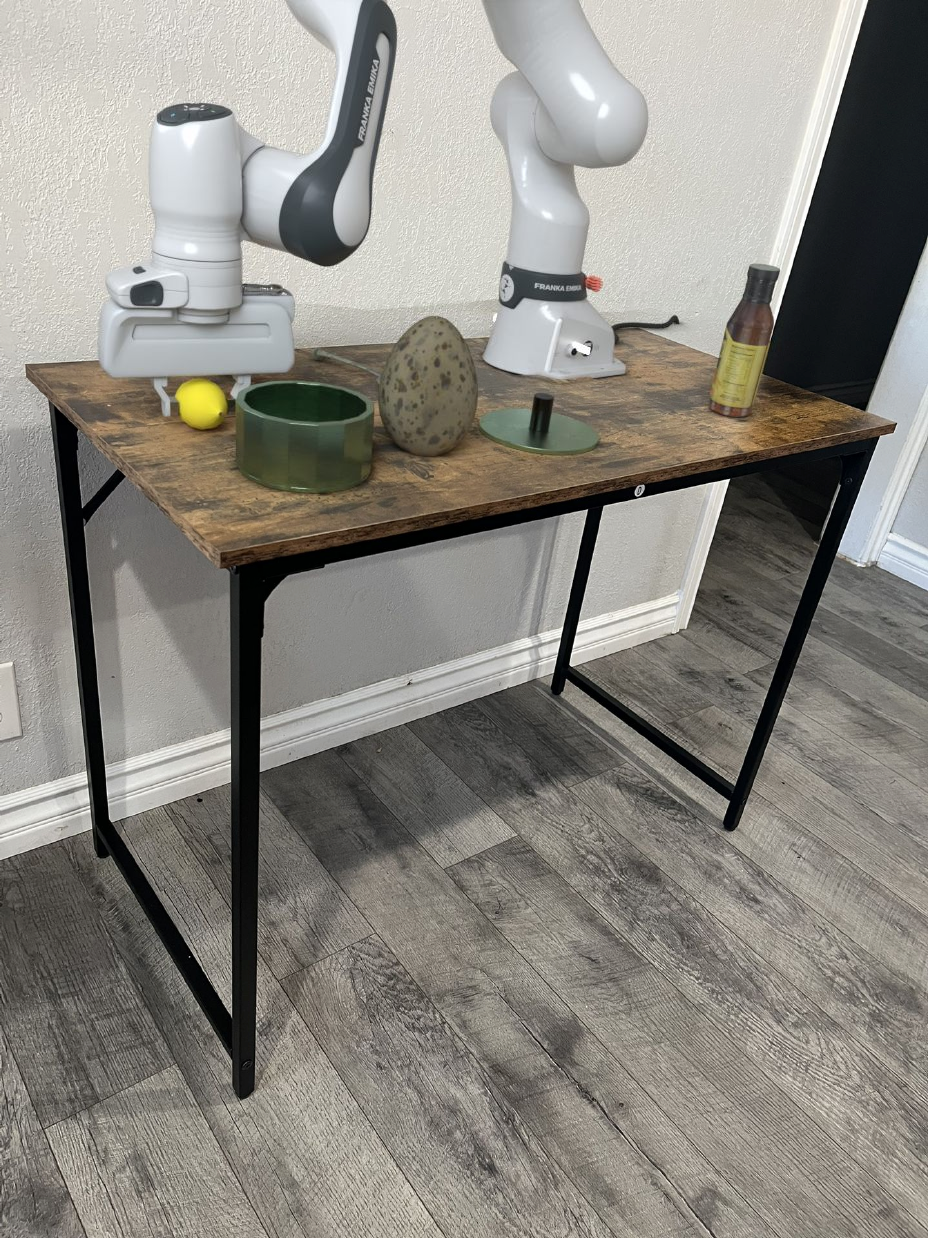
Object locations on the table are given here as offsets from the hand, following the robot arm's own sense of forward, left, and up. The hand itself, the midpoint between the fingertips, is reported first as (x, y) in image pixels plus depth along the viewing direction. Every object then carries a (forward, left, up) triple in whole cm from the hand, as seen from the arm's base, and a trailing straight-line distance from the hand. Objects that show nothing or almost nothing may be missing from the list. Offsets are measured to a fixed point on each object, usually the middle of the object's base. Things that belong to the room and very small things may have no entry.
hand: (201, 413), depth 103 cm
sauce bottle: (-73, +6, -2) cm, 73 cm away
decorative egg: (-21, +12, -2) cm, 25 cm away
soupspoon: (-26, -14, -2) cm, 30 cm away
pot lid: (-38, +10, -1) cm, 39 cm away
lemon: (0, 0, -2) cm, 2 cm away
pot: (-7, +13, -2) cm, 15 cm away
